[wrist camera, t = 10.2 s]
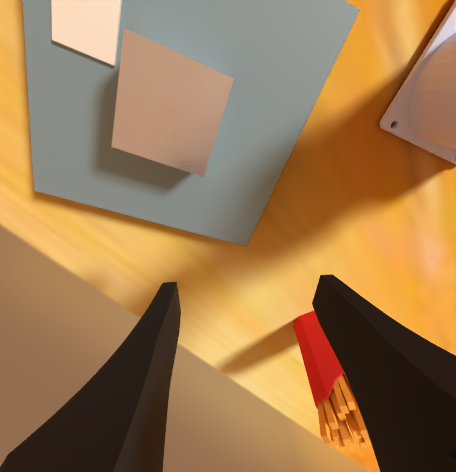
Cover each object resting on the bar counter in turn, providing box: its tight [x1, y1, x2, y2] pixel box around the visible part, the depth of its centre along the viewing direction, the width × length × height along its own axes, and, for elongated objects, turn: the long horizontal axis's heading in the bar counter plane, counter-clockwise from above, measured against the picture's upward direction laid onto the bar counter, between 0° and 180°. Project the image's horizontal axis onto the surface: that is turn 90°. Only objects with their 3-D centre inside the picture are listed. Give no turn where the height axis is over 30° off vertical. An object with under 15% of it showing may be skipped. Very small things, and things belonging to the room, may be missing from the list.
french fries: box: [293, 311, 372, 451], centre depth 24 cm, size 8×4×12 cm, turn 114°
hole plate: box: [22, 0, 360, 246], centre depth 15 cm, size 16×16×2 cm
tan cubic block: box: [111, 28, 234, 177], centre depth 13 cm, size 5×5×5 cm
